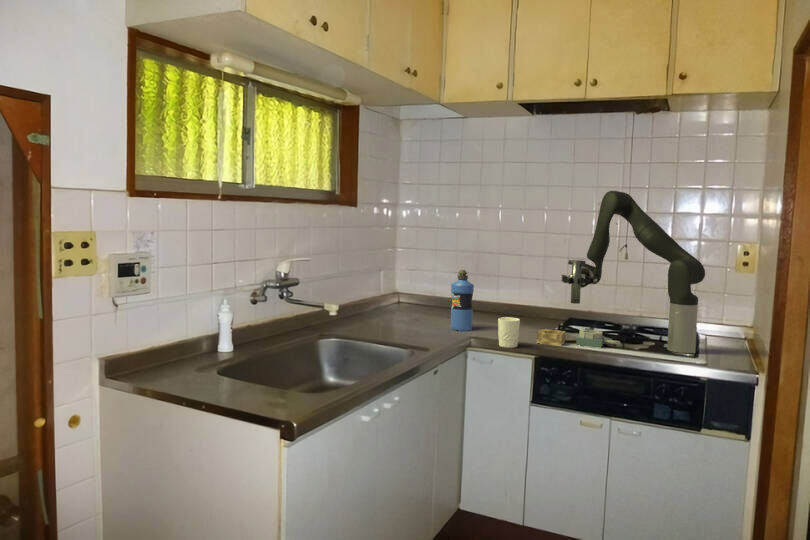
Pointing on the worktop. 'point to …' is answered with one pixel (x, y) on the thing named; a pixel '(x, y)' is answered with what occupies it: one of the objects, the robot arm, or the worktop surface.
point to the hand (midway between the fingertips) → (574, 281)
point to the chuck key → (576, 280)
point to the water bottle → (462, 303)
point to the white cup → (508, 331)
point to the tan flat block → (551, 337)
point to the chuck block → (592, 338)
